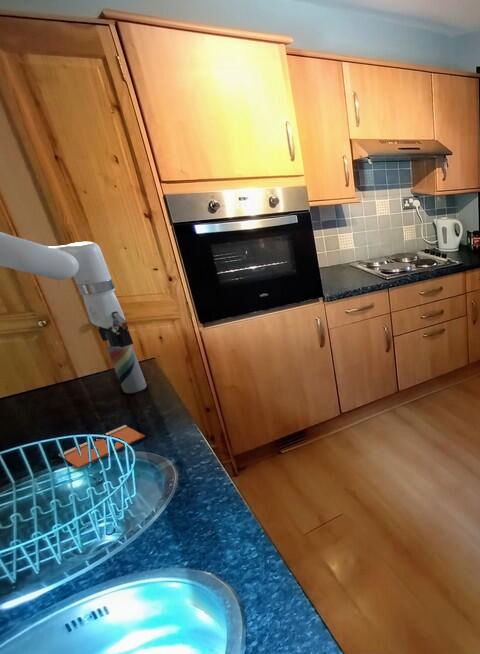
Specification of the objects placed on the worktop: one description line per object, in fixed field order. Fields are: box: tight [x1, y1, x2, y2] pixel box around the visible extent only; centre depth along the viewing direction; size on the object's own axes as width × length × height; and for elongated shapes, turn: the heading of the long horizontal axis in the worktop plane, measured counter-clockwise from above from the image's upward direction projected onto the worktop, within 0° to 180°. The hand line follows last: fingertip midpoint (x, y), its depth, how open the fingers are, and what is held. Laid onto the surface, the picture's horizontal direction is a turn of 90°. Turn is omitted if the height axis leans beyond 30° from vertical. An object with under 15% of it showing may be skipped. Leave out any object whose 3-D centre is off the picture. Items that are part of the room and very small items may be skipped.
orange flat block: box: [58, 424, 146, 469], centre depth 114 cm, size 14×10×1 cm
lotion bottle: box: [105, 327, 147, 394], centre depth 136 cm, size 6×6×20 cm
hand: (118, 342), depth 133 cm, fingers open, 9 cm apart
